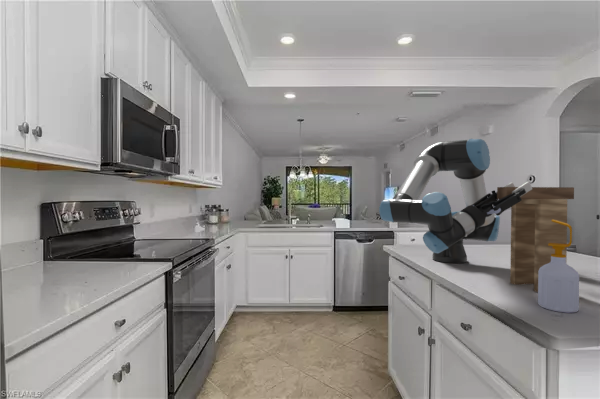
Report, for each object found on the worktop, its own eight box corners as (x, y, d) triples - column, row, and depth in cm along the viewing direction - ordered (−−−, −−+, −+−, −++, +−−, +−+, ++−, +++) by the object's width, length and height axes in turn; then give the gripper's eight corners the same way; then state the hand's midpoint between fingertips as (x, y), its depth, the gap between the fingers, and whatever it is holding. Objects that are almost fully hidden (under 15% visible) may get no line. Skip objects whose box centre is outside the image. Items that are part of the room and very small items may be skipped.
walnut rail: (497, 199, 115) (497, 187, 115) (562, 199, 120) (563, 187, 120) (506, 199, 111) (506, 187, 111) (573, 199, 116) (574, 187, 116)
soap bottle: (539, 300, 102) (540, 218, 101) (578, 307, 96) (580, 219, 96) (536, 308, 95) (537, 220, 94) (578, 315, 89) (580, 221, 89)
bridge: (510, 283, 121) (511, 198, 121) (534, 282, 123) (535, 198, 122) (539, 293, 109) (540, 199, 109) (565, 291, 111) (567, 199, 111)
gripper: (454, 227, 121) (504, 195, 124) (493, 233, 102) (551, 195, 105) (444, 209, 120) (495, 177, 124) (482, 212, 102) (541, 174, 105)
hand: (521, 185), depth 114 cm, fingers open, 6 cm apart
